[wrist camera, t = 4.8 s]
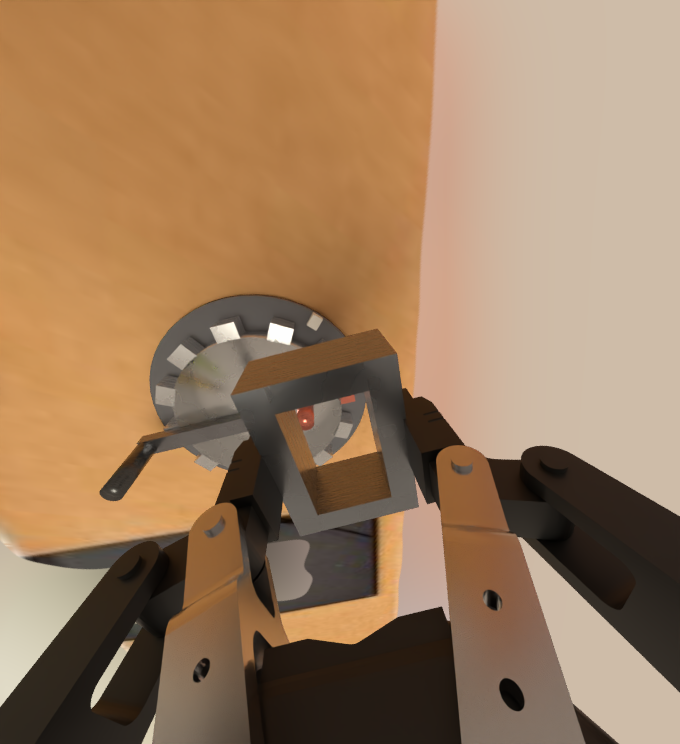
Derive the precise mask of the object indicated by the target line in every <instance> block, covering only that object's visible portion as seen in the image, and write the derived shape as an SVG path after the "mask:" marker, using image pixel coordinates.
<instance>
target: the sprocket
mask: <svg viewBox="0 0 680 744" xmlns="http://www.w3.org/2000/svg"><path fill="white" fill-rule="evenodd" d="M294 326H295V323H294V322H291V321H287V320H284V319H280V318H277V317H273V318H272V320H271V322H270V326H269V331H245V329H244V326H243V324H242V321H241V319H240V316H236V317H231V318H227V319H223V320H219V321H217V322H215V323H214V324H213V325H212V326H211V327H210V329H211V331H212V334H213V336H214V338H215V341H213V342H211V343H210V344H208V345H207V346H205V347H204V346H203V345H201V344H200V343H199V342H197V341H196V340H195V339H193V338H192V337H191V336H190V337H189V338H187V339H186V340H185V341H184V342H183V343H181V344H180V345H179V346H178V348H177V349H176V350H175V351H174V352H173V353H172V354H171V355H170V356H169V357H168V358H167V360H168V361H169V362H171V363H172V364H174V365H175V366H177V367H178V368H180V369H181V370H182V371H181V373H180V375H179V377H174V376H169V375H166V376H165V377H164V378H163V379H162V380H161V381H160V382H159V383H158V384H157V385H156V397H155V404H159V405H165V406H170V407H173V411H174V416H173V417H172V418H171V420H170V421H169V422H168V424H167V425H166V426H165V427H164V431H163V432H159V433H154V434H150V435H146V436H143V437H142V438H141V439H140V440H139V441H138V443H137V444H138V445H137V446H136V448H135V449H134V450H133V451H132V452H131V454H130V455H129V456H128V457H127V459H126V460H125V461H124V462H123V463H122V465H121V466H120V467H119V468H118V469H117V471H116V472H115V473H114V474H113V475H112V477H111V478H110V479H109V480H108V482H107V483H106V484H105V485H104V486H103V488H102V489H101V490H100V495H101V496H102V497H103V498H104V499H106V500H110V501H118V500H120V499H122V498H123V496H124V495H125V494H126V492H127V491H128V489H129V488H130V487H131V485H132V484H133V482H134V481H135V480H136V478H137V477H138V475H139V474H140V473H141V471H142V470H143V468H144V467H145V466H146V464H147V463H148V461H149V460H150V459H151V457H152V456H153V454H155V453H159V452H164V451H168V450H172V449H176V448H180V447H185V446H189V445H192V446H193V447H194V448H195V449H197V450H198V451H199V453H198V455H197V457H196V459H195V461H194V462H195V463H197V464H198V465H200V466H202V467H204V468H206V469H207V470H209V471H211V470H212V469H213V468H215V467H216V466H217V465H218V464H221V465H223V466H226V467H228V468H229V466H230V464H231V460H232V458H233V455H234V452H235V450H236V449H237V448H238V447H239V445H240V444H241V443H242V442H243V441H245V440H248V439H249V436H250V434H249V432H248V430H247V428H246V426H245V424H244V422H243V420H242V418H241V416H240V414H239V412H238V410H237V408H236V406H235V404H234V402H233V400H232V398H231V396H230V395H231V393H232V392H233V390H234V388H235V386H236V384H237V382H238V380H239V378H240V377H241V375H242V373H243V371H244V369H245V367H246V365H247V364H248V362H249V361H253V360H256V359H260V358H264V357H268V356H272V355H276V354H280V353H284V352H288V351H292V350H296V349H300V348H303V347H307V345H306V344H304V343H302V342H300V341H298V340H296V339H294V338H292V335H293V331H294ZM323 342H326V341H325V340H324V339H323V338H322V339H321V340H320V341H319V342H318V343H316V344H319V343H323ZM354 401H355V396H354V395H351V396H347V397H343V398H339V399H335V400H331V401H327V402H323V403H319V404H315V405H311V406H307V407H303V408H299V409H295V411H296V414H297V417H298V419H299V422H300V425H301V427H302V430H303V433H304V435H305V438H306V441H307V443H308V446H309V449H310V451H311V454H312V457H313V459H314V462H315V463H316V464H317V465H319V466H321V465H322V464H324V463H325V462H326V461H328V460H329V459H330V458H332V457H333V454H332V445H331V444H330V442H331V441H332V439H333V438H334V436H335V437H340V438H346V439H347V438H348V436H349V433H350V431H351V429H352V426H353V421H352V417H351V413H347V412H342V409H341V404H346V403H350V402H354Z"/></svg>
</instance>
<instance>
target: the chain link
mask: <svg viewBox="0 0 680 744" xmlns="http://www.w3.org/2000/svg"><path fill="white" fill-rule="evenodd" d="M363 392H364V394H365V399H366V403H367V408H368V413H369V417H370V422H371V426H372V431H373V435H374V440H375V444H376V449H377V452H374V453H370V454H366V455H362V456H358V457H354V458H350V459H346V460H342V461H338V462H334V463H330V464H326V465H322V466H318V467H316V464H315V462H314V459H313V457H312V454H311V451H310V449H309V446H308V443H307V441H306V438H305V435H304V433H303V430H302V427H301V425H300V422H299V419H298V417H297V414H296V411H295V409H299V408H303V407H307V406H311V405H315V404H319V403H323V402H327V401H331V400H335V399H339V398H343V397H347V396H351V395H355V394H359V393H363ZM230 396H231V398H232V400H233V402H234V404H235V406H236V408H237V410H238V412H239V414H240V416H241V418H242V420H243V422H244V424H245V426H246V428H247V430H248V432H249V434H250V436H251V438H252V440H253V442H254V444H255V446H256V448H257V450H258V452H259V454H260V455H262V457H263V459H264V461H265V463H266V465H267V467H268V469H269V471H270V473H271V475H272V477H273V479H274V481H275V483H276V485H277V487H278V489H279V491H280V493H281V495H282V497H283V502H284V504H285V506H286V508H287V510H288V512H289V514H290V516H291V518H292V520H293V522H294V524H295V526H296V528H297V530H298V532H299V534H300V536H304V535H308V534H312V533H316V532H320V531H324V530H328V529H332V528H336V527H340V526H344V525H348V524H352V523H356V522H360V521H364V520H368V519H372V518H377V517H381V516H385V515H389V514H393V513H397V512H401V511H405V510H409V509H413V508H417V507H419V505H418V498H417V491H416V484H415V477H414V473H413V471H412V469H411V467H410V461H409V454H408V447H407V441H406V434H405V427H404V420H403V419H406V413H405V406H404V399H403V392H402V385H401V378H400V371H399V364H398V357H397V353H396V352H395V350H394V349H393V348H392V347H391V345H390V344H389V343H388V341H387V340H386V339H385V338H384V336H383V335H382V334H381V333H380V331H379V330H378V329H374V330H370V331H366V332H362V333H358V334H354V335H350V336H347V337H343V338H339V339H335V340H331V341H327V342H323V343H319V344H315V345H311V346H307V347H303V348H300V349H296V350H292V351H288V352H284V353H280V354H276V355H272V356H268V357H264V358H260V359H256V360H253V361H249V362H248V364H247V365H246V367H245V369H244V371H243V373H242V375H241V377H240V378H239V380H238V382H237V384H236V386H235V388H234V390H233V392H232V393H231V395H230Z"/></svg>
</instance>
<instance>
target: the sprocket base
mask: <svg viewBox="0 0 680 744" xmlns="http://www.w3.org/2000/svg"><path fill="white" fill-rule="evenodd" d="M236 316H240V319H241V321H242V324H243V326H244V329H245V331H269V326H270V322H271V320H272V318H273V317H277V318H280V319H284V320H287V321H291V322H294V323H295V326H294V331H293V335H292V338H294V339H296V340H298V341H300V342H302V343H304V344H306V345H307V346H311V345H315V344H316V343H318V342H319V341H320V340H321V339H322V338H323V339H324V340H325V341H326V342H327V341H331V340H335V339H339V338H343V337H345V336H344V335H343V333H342V332H341V331H340V330H339V329H338V328H337V327H336V326H335V325H334V324H332V323H331V322H330V321H329V320H328V319H326V318H325V317H323V316H322V315H320V314H319V313H317V312H315V311H314V310H312V309H310V308H308V307H306V306H304V305H301V304H299V303H296V302H293V301H290V300H287V299H283V298H278V297H274V296H265V295H239V296H232V297H226V298H222V299H219V300H216V301H213V302H209V303H207V304H205V305H203V306H201V307H199V308H197V309H195V310H193V311H192V312H190V313H189V314H187V315H186V316H185V317H183V318H182V319H180V320H179V321H178V322H177V323H176V324H175V325H174V326H173V327H172V328H171V329H169V331H168V332H167V333H166V335H165V336H164V337H163V339H162V340H161V341H160V343H159V345H158V347H157V349H156V351H155V354H154V357H153V360H152V364H151V370H150V392H151V396H152V400H153V404H154V406H155V409H156V411H157V414H158V416H159V418H160V419H161V421H162V423H163V424H164V426H166V425H167V424H168V422H169V421H170V420H171V418H172V417H173V416H174V411H173V407H170V406H165V405H159V404H155V397H156V385H157V384H158V383H159V382H160V381H161V380H162V379H163V378H164V377H165V376H166V375H169V376H174V377H179V375H180V373H181V371H182V370H181V369H180V368H178V367H177V366H175V365H174V364H172V363H171V362H169V361H168V360H167V358H168V357H169V356H170V355H171V354H172V353H173V352H174V351H175V350H176V349H177V348H178V346H179V345H180V344H181V343H183V342H184V341H185V340H186V339H187V338H189V337H190V336H191V337H192V338H193V339H195V340H196V341H197V342H199V343H200V344H201V345H203V346H204V347H205V346H207V345H208V344H210V343H211V342H213V341H215V338H214V336H213V334H212V331H211V329H210V327H211V326H212V325H213V324H214V323H215V322H217V321H219V320H223V319H227V318H231V317H236ZM354 396H355V401H354V402H350V403H346V404H341V409H342V412H347V413H351V417H352V421H353V426H352V429H351V431H350V433H349V436H348V438H347V439H346V438H340V437H335V436H334V438H333V439H332V441H331V442H330V444H331V445H332V454H334V453H336V452H337V451H338V450H339V449H340V448H341V447H343V445H344V444H345V443H346V442H347V441H348V440H349V439H350V437H351V436H352V435H353V433H354V432H355V430H356V428H357V426H358V425H359V423H360V421H361V418H362V415H363V412H364V408H365V402H366V399H365V394H364V392H363V393H359V394H355V395H354ZM185 448H186V449H187V450H188V451H190V452H191V453H193V454H194V455H196V456H197V455H198V453H199V451H198V450H197V449H195V448H194V447H193V446H192V445H189V446H185ZM315 464H316V463H315ZM217 466H218V467H220V468H223V469H226V470H228V467H226V466H223V465H221V464H218V465H217Z"/></svg>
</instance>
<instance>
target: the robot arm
mask: <svg viewBox="0 0 680 744" xmlns="http://www.w3.org/2000/svg"><path fill="white" fill-rule="evenodd" d="M402 392H403V399H404V406H405V413H406V419H403V420H404V427H405V434H406V441H407V447H408V454H409V461H410V467H411V469H412V471H413V473H414V476H415V478H416V480H417V482H418V485H419V487H420V489H421V491H422V493H423V496H424V498H425V500H426V502H427V504H430V503H433V502H436V504H437V506H438V508H439V510H440V512H441V523H442V533H443V534H442V535H443V544H444V545H443V546H444V557H445V569H446V580H447V590H448V601H449V614H450V621H447V619H446V617H445V614H444V611H443V609H442V607H438V608H434V609H430V610H425V611H421V612H417V613H413V614H409V615H405V616H400V617H397V618H396V619H394V620H393V621H391V622H390V623H388V624H386V625H385V626H383V627H382V628H380V629H379V630H377V631H376V632H374V633H373V634H371V635H369V636H368V637H366V638H365V639H363V640H362V641H360V642H358V643H356V644H342V643H335V642H327V641H320V640H312V639H305V640H301V641H297V642H293V643H289V640H288V638H287V635H286V633H285V631H284V628H283V625H282V622H281V617H280V613H279V608H278V603H277V599H276V594H275V589H274V584H273V579H272V575H271V570H270V565H269V561H268V558H267V556H266V548H267V543H269V542H273V541H277V540H278V539H279V530H280V521H281V512H282V503H283V497H282V495H281V493H280V491H279V489H278V487H277V485H276V483H275V481H274V479H273V477H272V475H271V473H270V471H269V469H268V467H267V465H266V463H265V461H264V459H263V457H262V455H260V454H259V452H258V450H257V448H256V446H255V444H254V442H253V440H252V438H251V436H249V439H248V440H245V441H243V442H242V443H241V444H240V445H239V447H238V448H237V449H236V450H235V452H234V455H233V458H232V460H231V464H230V466H229V468H228V473H227V474H226V477H225V479H224V482H223V485H222V487H221V490H220V493H219V496H218V498H217V501H216V504H215V506H213V507H211V508H209V509H208V510H206V511H205V512H204V513H203V514H202V515H201V516H200V517H199V518H198V519H197V520H196V521H195V523H194V524H193V526H192V528H191V530H190V533H189V535H188V536H186V537H184V538H182V539H180V540H178V541H177V542H175V543H173V544H171V545H169V546H167V547H165V548H164V549H161V547H160V546H159V545H158V544H157V543H156V542H154V541H147V542H143V543H141V544H138V545H136V546H134V547H133V548H131V549H130V550H128V551H127V552H126V553H124V554H123V555H122V556H121V557H120V558H119V559H118V560H117V561H116V562H115V563H114V564H113V565H112V567H111V568H110V569H109V570H108V572H107V573H106V574H105V575H104V577H103V578H102V579H101V581H100V582H99V583H98V584H97V586H96V587H95V588H94V589H93V591H92V592H91V593H90V595H89V596H88V597H87V598H86V600H85V601H84V602H83V603H82V605H81V606H80V607H79V608H78V610H77V611H76V612H75V613H74V615H73V616H72V617H71V618H70V620H69V621H68V622H67V624H66V625H65V626H64V627H63V629H62V630H61V631H60V632H59V634H58V635H57V636H56V637H55V639H54V640H53V641H52V642H51V644H50V645H49V646H48V648H47V649H46V650H45V651H44V653H43V654H42V655H41V656H40V658H39V659H38V660H37V662H36V663H35V664H34V665H33V666H32V668H31V669H30V670H29V672H28V673H27V674H26V675H25V677H24V678H23V679H22V680H21V682H20V683H19V684H18V685H17V687H16V688H15V689H14V691H13V692H12V693H11V694H10V696H9V697H8V698H7V699H6V701H5V702H4V703H3V704H2V706H1V707H0V744H142V741H143V739H144V737H145V735H146V733H147V730H148V728H149V726H150V724H151V722H152V720H153V718H154V715H155V713H156V718H155V725H154V735H153V742H152V744H618V743H617V742H616V741H615V740H614V739H613V738H612V737H610V736H609V735H608V734H607V733H606V732H605V731H604V730H602V729H601V728H600V727H599V726H598V725H597V724H596V723H594V722H593V721H592V720H591V719H590V718H589V717H588V716H586V715H585V714H584V713H583V712H582V711H581V710H579V709H578V708H577V707H576V706H575V705H574V704H573V703H572V701H571V698H570V695H569V692H568V689H567V685H566V683H565V679H564V676H563V673H562V670H561V667H560V664H559V661H558V658H557V655H556V652H555V649H554V646H553V643H552V639H551V636H550V633H549V630H548V627H547V624H546V621H545V618H544V615H543V612H542V609H541V606H540V603H539V599H538V596H537V593H536V590H535V587H534V584H533V581H532V578H531V575H530V572H529V569H528V566H527V563H526V560H525V556H524V553H523V550H522V548H521V545H520V542H519V540H518V538H517V537H522V538H523V539H524V540H525V541H526V542H527V543H528V544H529V545H530V546H531V547H532V548H533V549H534V550H535V551H536V552H538V554H539V555H540V556H541V557H542V558H544V560H545V561H546V562H547V563H548V564H550V565H551V566H552V567H553V568H554V569H555V570H556V571H557V572H558V573H559V574H560V575H561V576H562V577H563V578H564V579H565V580H566V581H567V582H568V583H569V584H570V585H571V586H572V587H573V588H574V589H575V590H576V591H577V592H578V593H579V594H580V595H581V596H582V597H583V598H584V599H585V600H586V601H587V602H588V603H589V604H590V605H591V606H592V607H593V608H594V609H595V610H596V611H597V612H598V613H599V614H600V615H601V616H602V617H604V619H606V620H607V621H608V622H609V623H610V624H611V625H612V626H613V627H614V628H615V629H616V630H617V631H618V632H619V633H620V634H621V635H622V636H623V637H624V638H625V639H626V640H627V641H628V642H629V643H630V644H631V645H632V646H633V647H634V648H635V649H636V650H637V651H638V652H639V653H640V654H641V655H642V656H643V657H645V659H646V660H647V661H648V662H649V663H650V664H651V665H652V666H653V667H654V668H656V670H657V671H658V672H660V673H661V674H662V675H663V676H664V677H665V678H666V679H667V680H668V681H669V682H670V683H671V684H672V685H673V686H674V687H675V688H676V689H677V690H678V691H679V692H680V516H678V515H676V514H674V513H673V512H671V511H669V510H668V509H666V508H664V507H662V506H661V505H659V504H657V503H656V502H654V501H652V500H650V499H649V498H647V497H645V496H644V495H642V494H640V493H638V492H636V491H635V490H633V489H631V488H630V487H628V486H626V485H625V484H623V483H621V482H619V481H618V480H616V479H614V478H613V477H611V476H609V475H607V474H606V473H604V472H602V471H600V470H599V469H597V468H595V467H594V466H592V465H590V464H588V463H587V462H585V461H583V460H581V459H580V458H578V457H576V456H575V455H573V454H571V453H569V452H567V451H564V450H562V449H559V448H555V447H549V446H535V447H531V448H529V449H527V450H525V451H524V452H523V454H522V456H521V460H501V459H490V458H486V457H485V456H484V455H483V454H482V453H480V452H479V451H477V450H475V449H473V448H471V447H467V446H465V445H464V443H463V442H462V441H461V439H459V437H458V436H457V434H456V433H455V432H454V430H453V429H452V428H451V427H450V425H449V424H448V423H447V422H446V420H445V419H444V418H443V416H442V415H441V414H440V412H438V410H437V408H436V407H435V406H434V404H433V403H432V402H430V401H429V400H427V399H425V398H423V397H417V398H412V396H411V395H410V393H409V392H408V390H407V389H406V388H403V389H402ZM135 622H136V623H137V624H139V625H140V626H141V627H142V629H141V630H140V632H139V634H138V635H137V637H136V639H135V640H134V642H133V644H132V646H131V647H130V649H129V651H128V652H127V654H126V656H125V657H124V659H123V661H122V662H121V664H120V666H119V667H118V669H117V671H116V673H115V674H114V676H113V677H112V679H111V681H110V683H109V684H108V686H107V688H106V689H105V691H104V693H103V694H102V696H101V698H100V699H99V701H98V702H97V703H96V705H95V706H94V707H93V708H92V709H91V707H90V706H91V698H92V694H93V692H94V689H95V687H96V685H97V683H98V681H99V680H100V678H101V677H102V675H103V673H104V672H105V670H106V668H107V667H108V665H109V664H110V662H111V660H112V659H113V657H114V656H115V654H116V652H117V651H118V649H119V647H120V646H121V644H122V643H123V641H124V639H125V638H126V636H127V635H128V633H129V631H130V630H131V628H132V627H133V625H134V623H135Z"/></svg>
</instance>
